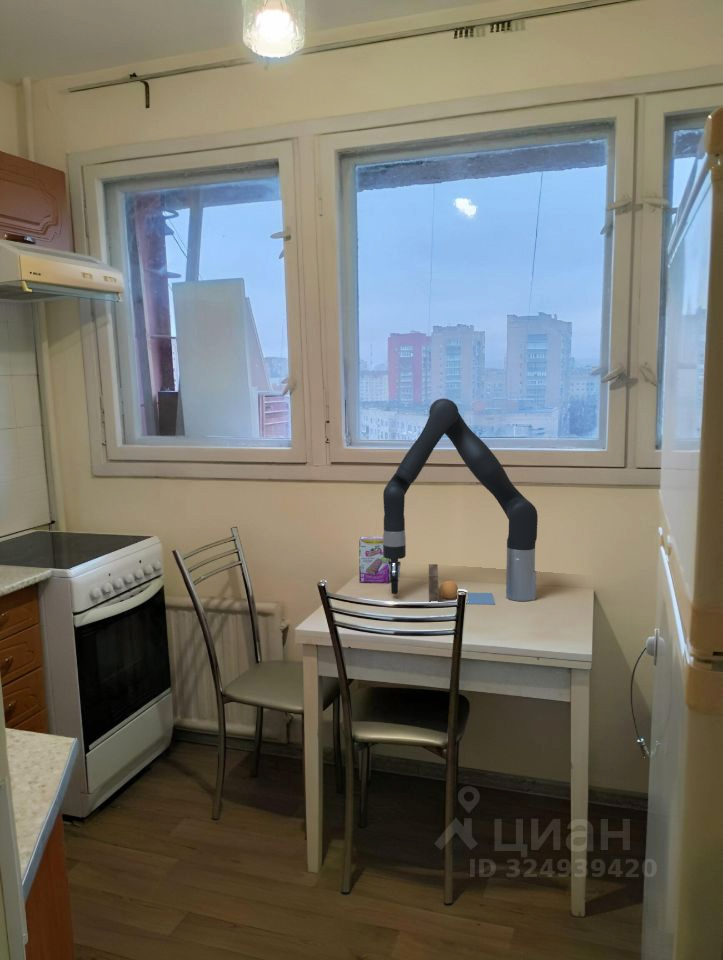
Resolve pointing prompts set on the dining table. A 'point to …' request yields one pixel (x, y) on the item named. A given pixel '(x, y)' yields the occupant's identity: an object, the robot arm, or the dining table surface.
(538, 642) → the dining table surface
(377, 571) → the candy bar box
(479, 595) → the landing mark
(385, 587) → the dining table surface
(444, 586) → the ball
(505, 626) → the dining table surface
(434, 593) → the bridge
